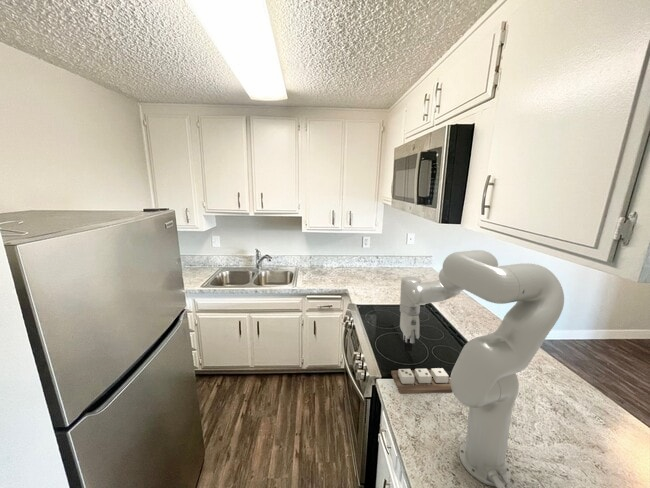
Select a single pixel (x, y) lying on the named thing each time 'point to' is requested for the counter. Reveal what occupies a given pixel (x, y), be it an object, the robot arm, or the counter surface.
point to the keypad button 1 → (439, 375)
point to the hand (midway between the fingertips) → (407, 350)
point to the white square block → (406, 376)
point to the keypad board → (421, 386)
